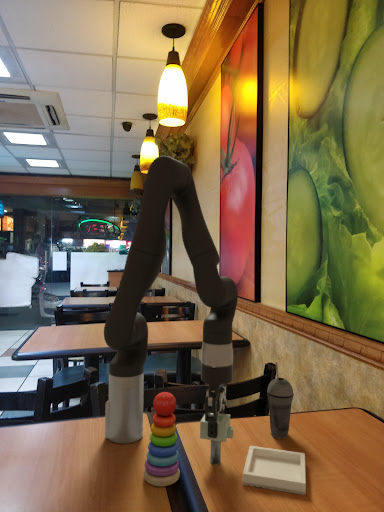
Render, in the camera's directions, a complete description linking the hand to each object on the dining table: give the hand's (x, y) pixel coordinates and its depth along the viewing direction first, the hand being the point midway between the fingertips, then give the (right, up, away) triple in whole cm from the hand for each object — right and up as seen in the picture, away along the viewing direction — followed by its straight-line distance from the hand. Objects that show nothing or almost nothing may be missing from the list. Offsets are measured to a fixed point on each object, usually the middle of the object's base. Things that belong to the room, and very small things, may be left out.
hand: (215, 430), depth 95 cm
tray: (+13, -8, -5) cm, 16 cm away
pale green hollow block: (0, -1, 0) cm, 1 cm away
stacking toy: (-12, -7, -7) cm, 16 cm away
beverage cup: (+18, -8, +15) cm, 25 cm away
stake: (0, -7, 0) cm, 7 cm away
